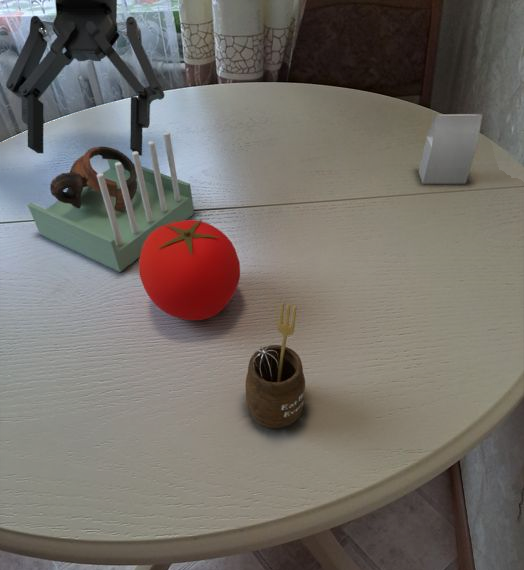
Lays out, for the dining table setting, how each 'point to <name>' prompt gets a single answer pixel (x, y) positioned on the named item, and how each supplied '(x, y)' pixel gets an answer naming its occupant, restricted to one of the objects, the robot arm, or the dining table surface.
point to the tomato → (189, 269)
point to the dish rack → (118, 212)
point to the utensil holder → (276, 380)
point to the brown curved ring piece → (93, 178)
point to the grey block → (450, 148)
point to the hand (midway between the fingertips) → (85, 151)
